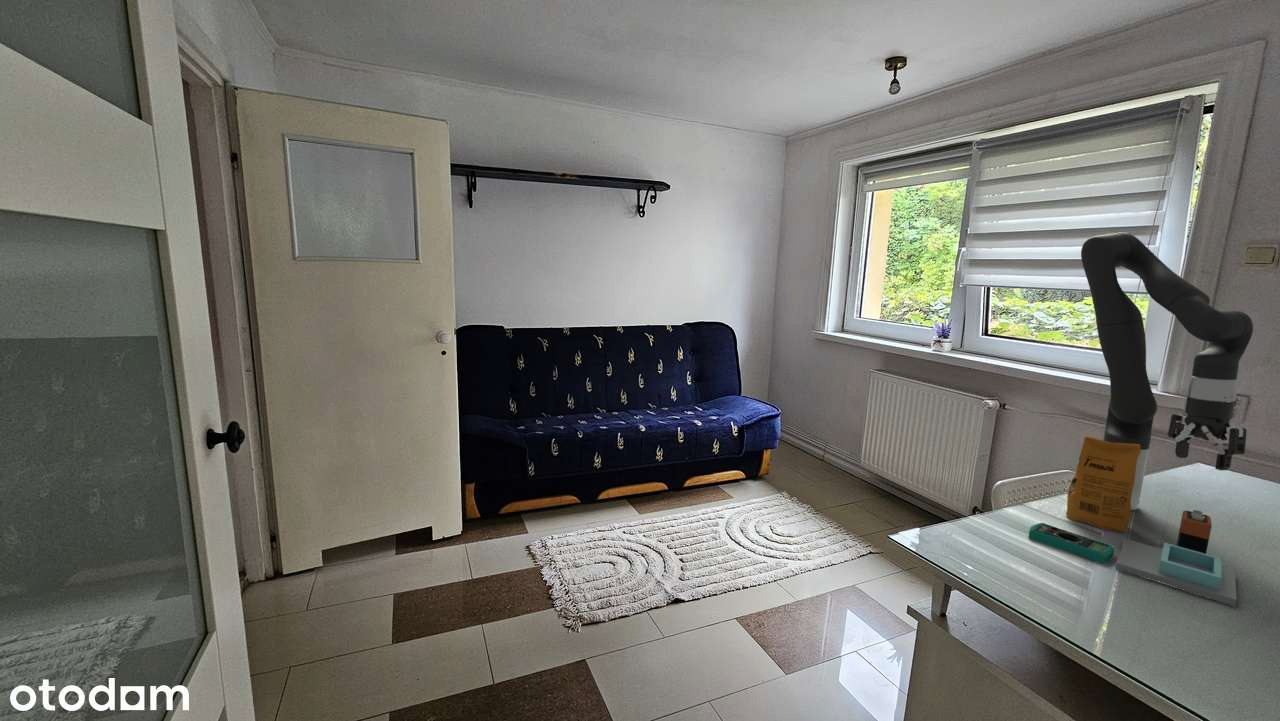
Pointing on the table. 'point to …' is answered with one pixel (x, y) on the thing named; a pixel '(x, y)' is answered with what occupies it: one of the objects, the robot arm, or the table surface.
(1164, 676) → the table surface
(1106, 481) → the coffee package
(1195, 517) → the battery
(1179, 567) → the plate
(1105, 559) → the digital multimeter
